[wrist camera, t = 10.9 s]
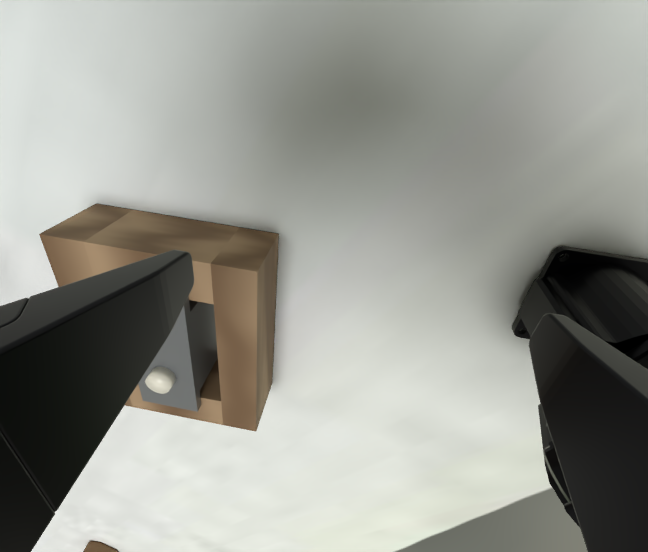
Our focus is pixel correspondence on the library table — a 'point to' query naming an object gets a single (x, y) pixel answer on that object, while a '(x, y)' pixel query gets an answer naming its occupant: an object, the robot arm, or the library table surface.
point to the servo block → (183, 359)
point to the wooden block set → (98, 547)
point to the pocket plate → (191, 294)
